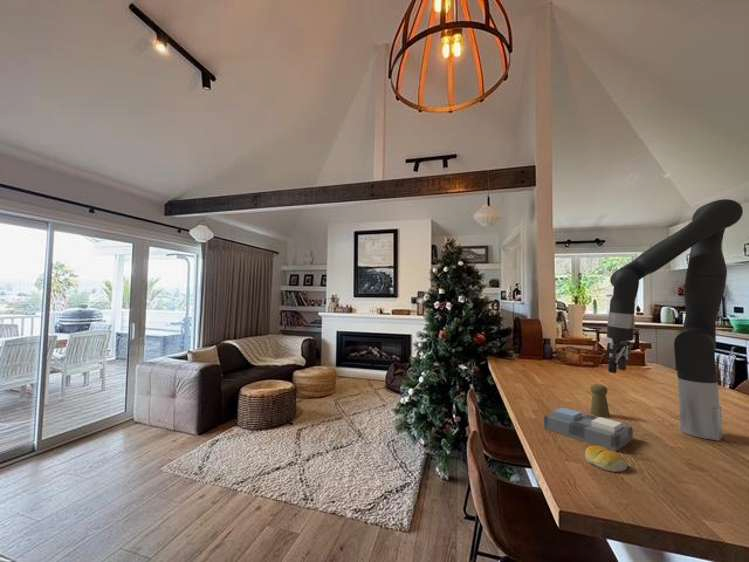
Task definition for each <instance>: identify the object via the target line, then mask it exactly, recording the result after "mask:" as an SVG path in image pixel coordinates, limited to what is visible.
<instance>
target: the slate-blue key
mask: <svg viewBox="0 0 749 562" xmlns="http://www.w3.org/2000/svg"><path fill="white" fill-rule="evenodd" d="M553 413H554V416H557V417H561V418H564V419H568V420H571V421H576V420H578V419H580V418H582V411H579V410H574V409H571V408H566V407H560V408H558V409H556V410H554V411H553Z"/></svg>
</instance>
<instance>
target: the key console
mask: <svg viewBox="0 0 749 562" xmlns="http://www.w3.org/2000/svg"><path fill="white" fill-rule="evenodd" d="M543 418H544V419H543V421H544V422H543V424H544V429H545V430H547V429H548V430H547V431H550V430H551V431H550V432H553V431H554V433H556V432H557V433H556V434H559V433H560V434H559V435H562V434H563V436H566V437H569V438H572V439H575V440H578V441H581V440H582V441H581V442H584V441H585V442H584V443H587V442H588V443H587V444H591V445H592V446H602V447H605V448H607V449H608V450H611V451H615V452H618V451H619V450H620V449H622V448H623V447H625V446H626V445H628V444H629V443H631V442H632V441H633V440H634V438H633V437H634V435H633V434H634V433H633V432H634V431H633V425H628V424H625V423H622V429H621V430H620V431H618V432H616V433H613V432H610V431H606V430H603V429H599V428H596V427H592V426H591V421H592V420H594V419H596V418H598V416H595V415H592V414H587V413H582V418H580V419H578V420H576V421H571V420H568V419H564V418H561V417H557V416H554V412H552V413H549V414H547V415H544V416H543ZM631 440H632V441H631ZM628 442H629V443H628Z"/></svg>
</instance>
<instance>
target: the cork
mask: <svg viewBox="0 0 749 562" xmlns="http://www.w3.org/2000/svg"><path fill="white" fill-rule="evenodd" d="M590 391H591V392H592V397H591V398H592V399H591V407H590V415H592V414H593V415H592V416H595V417H598V416H599V417H602V418H610V417H611V415H610V410H609V405H608V401H607V400H608V399H607V394H608V387H607V386H606V385H603V384H599V383H597V384H592V385H590Z"/></svg>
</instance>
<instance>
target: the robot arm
mask: <svg viewBox="0 0 749 562" xmlns="http://www.w3.org/2000/svg"><path fill="white" fill-rule="evenodd" d="M743 214H744V211H743V207H742V204H740V203H739V202H738V201H736V200H733V199H716V200H714V201H713V200H712V201H711V202H708V203H706V204H703V205H702V206H699V208H697V209H696V210H695V212H694V213H693V214H692V220H691V221H690V222H689V223H688V224H686V225H685V226H684V227H682V228H681V229H680V230H678V231H676V232H675V233H673V234H671V235H669V236H667V237H666V238H664V239H662V240H661V241H659V242H657V243H656V244H654V245H653V246H651V247H650V248H648V249H647V250H645V251H644V252H643V253H641V254H640V255H638V256H637V257H636V258H635V259H633V260H632V261H630V262H628V263H627V264H624V265H623V266H622V267H620V268H618V269H616V270H615V271H614V272H613V273H612V274H611V276H610V281H609V282H610V284H611V286H613V292H612V296H611V298H610V302H609V310H608V311H609V313H608V316H607V325H606V326H607V329H606V337H607V338H608V339H612V340H611V342H607V344H606V354H605V360H607V361H608V373H612V374H616V373H618V372H617V371H618V370H620V371H626V370H627V365H628V364H627V362H628V360H629V358H631V345H632V341H634V335H635V323H636V321H635V319H636V318H635V310H636V309H635V308H636V298H637V295H638V291H639V286H640V280H642V279H643V278H645V277H646V276H648V275H650V274H653V273H655V272H657V271H658V270H660V269H661V268H663V267H664V266H666V265H667V264H669V263H670V262H671V261H673V260H675V259H676V258H677V257H679V256H681V255H682V254H683V253H685V252H687V250H689V249H690V251H689V257H688V264H687V269H686V275H685V278H684V279H685V280H684V290H683V291H684V292H683V293H684V295H683V296H684V306H685V316H684V322H683V325H682V327H681V331H680V333H678V334H677V336H676V337H675V338H674V340H673V341H674V342H673V345H674V346H673V348H674V349H673V350H674V351H673V352H674V353H673V354H674V361H675V369H676V374H677V375H676V376H677V389H678V405H679V421H680V431H681V432H682V433H684V434H686V435H690V436H692V437H696V438H701V439H704V440H713V441H719V442H720V441H721V439H722V438H723V437H724V430H723V415H722V414H723V413H722V406H721V405H720V398H719V397H720V395H719V384H718V383H719V382H718V381H719V380H718V373H717V367H716V354H715V353H716V352H715V351H716V350H717V349H716V348H717V341H716V340H717V338H716V337H717V333H716V332H717V319H718V318H717V317H718V313H719V310H720V307H721V305H722V300H723V297H724V293H725V289H726V283H727V277H728V270H727V269H728V268H727V265H726V260H725V257H724V254H723V239H724V235H725V234H724V233H725V231H726V229H727V228H730V227H732V226H734V225H735V224H736V223H738V222H739V221H740V219H741V218H742V216H743Z"/></svg>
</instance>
